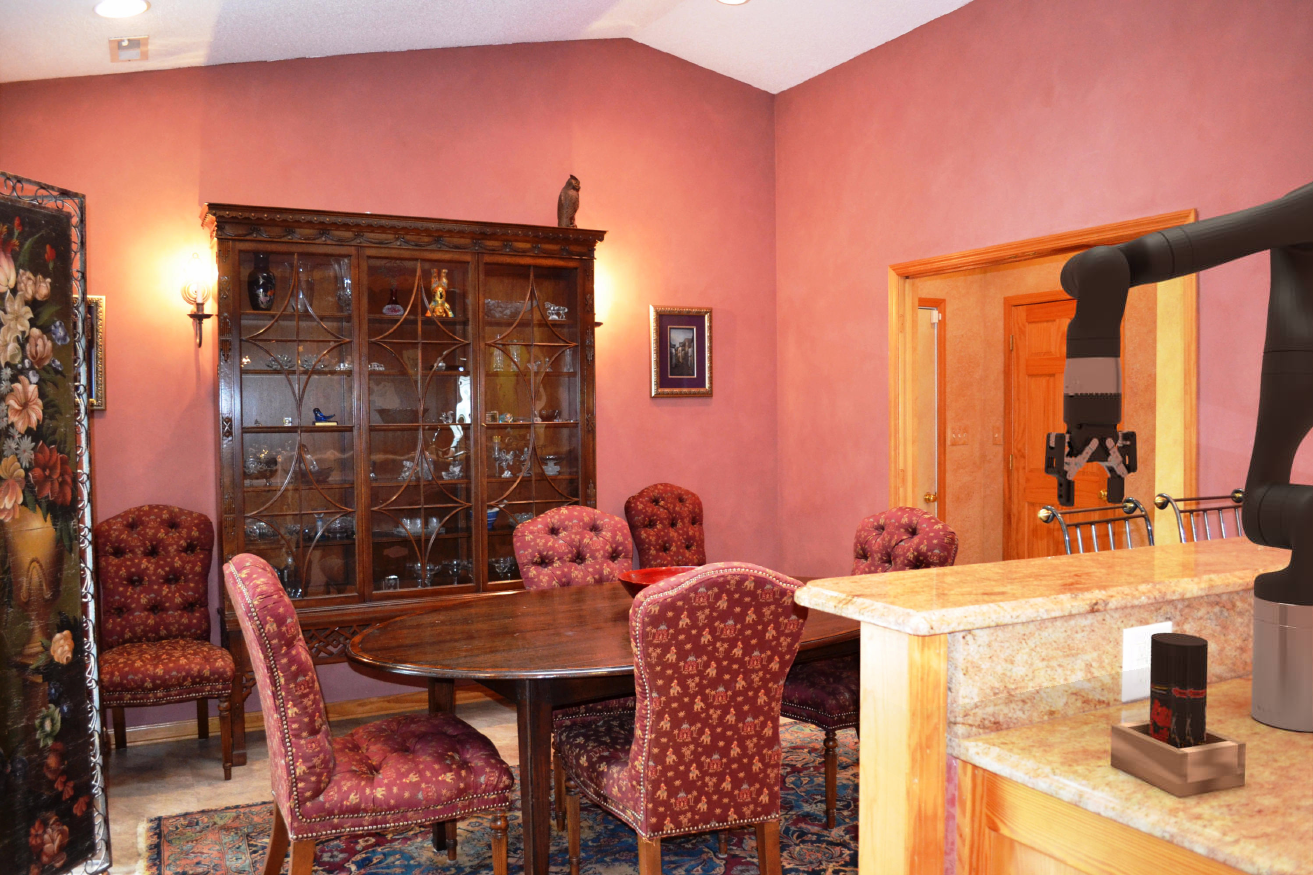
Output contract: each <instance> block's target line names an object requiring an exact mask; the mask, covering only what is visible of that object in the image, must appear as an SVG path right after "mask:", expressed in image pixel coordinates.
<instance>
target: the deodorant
mask: <svg viewBox="0 0 1313 875" xmlns="http://www.w3.org/2000/svg"><path fill="white" fill-rule="evenodd" d="M1208 644H1209V642H1208V640H1207V639H1205V638H1202V637H1200V636H1196V635H1193V634H1186V633H1178V632H1158V633H1154V634H1151V635H1150V671H1149V673H1150V675H1149V676H1150V679H1149V680H1150V684H1149V686H1150V687H1149V690H1150V691H1149V719H1150V729H1149V737H1152V738H1154V739H1156V740H1159V741H1161V742H1164V743H1166V744H1168V745H1171V746H1173V747H1176V748H1178V749H1182V748H1188V747H1194V746H1200V745H1206V728H1207V707H1208V706H1207V703H1208V702H1207V698H1208V695H1207V694H1208V656H1209V655H1208V651H1209V650H1208V648H1209V645H1208Z"/></svg>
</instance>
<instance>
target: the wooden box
mask: <svg viewBox="0 0 1313 875" xmlns="http://www.w3.org/2000/svg"><path fill="white" fill-rule="evenodd" d="M1110 728H1111V729H1110V734H1111V735H1110V766H1112V767H1114V768H1116V769H1119V770H1121V771H1123V772H1125V773H1127V774H1129V775H1131V776H1133V777H1135V778H1137V779H1140V780H1142V781H1144V782H1146V783H1148V784H1150V785H1153V786H1154V787H1156V788H1158V789H1160V790H1163V791H1165V792H1167V793H1169V794H1171V795H1173V796H1175V797H1178V798H1181V797H1188V796H1194V795H1198V794H1205V793H1209V792H1210V793H1211V792H1215V791H1221V790H1227V789H1230V788H1231V789H1232V788H1237V787H1242V786H1245V785H1246V780H1245V779H1246V748H1247V747H1246V742H1244V741H1241V740H1238V739H1237V738H1234V737H1231V736H1229V735H1225V734H1222V733H1221V732H1218V731H1215V730H1212V729H1210V728H1207V727H1206V745H1200V746H1194V747H1188V748H1182V749H1178V748H1176V747H1173V746H1171V745H1168V744H1166V743H1164V742H1161V741H1159V740H1156V739H1154V738H1152V737H1149V729H1150V718H1149V719H1143V720H1135V721H1131V722H1124V723H1123V722H1122V723H1118V724H1117V723H1116V724H1111V725H1110Z"/></svg>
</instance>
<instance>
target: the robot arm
mask: <svg viewBox="0 0 1313 875" xmlns="http://www.w3.org/2000/svg"><path fill="white" fill-rule="evenodd" d="M1268 250H1269V260H1270V261H1269V263H1270V264H1269V268H1270V286H1269V297H1268V306H1267V315H1266V328H1265V339H1264V344H1263V345H1264V346H1263V352H1262V361H1261V372H1260V384H1259V386H1260V388H1259V400H1258V401H1259V402H1258V410H1257V411H1258V412H1257V417H1256V418H1257V420H1256V426H1255V427H1256V428H1255V434H1254V435H1255V436H1254V440H1253V447H1252V452H1251V456H1250V461H1249V466H1248V471H1247V476H1246V479H1245V480H1246V481H1245V485H1244V490H1243V494H1242V501H1241V510H1240V514H1241V515H1240V518H1241V525H1242V527H1241V528H1242V530H1243V533H1244V534H1245V537H1246V538H1247V539H1248V540H1249V541H1250V542H1251V543H1252V544H1255V545H1258V546H1261V547H1262V546H1263V547H1268V548H1276V549H1281V550H1288V551H1291V554H1290V559H1289V560H1290V561H1289V563H1288V565H1287V566H1286V567H1284V568H1282V569H1279V570H1275V571H1269V572H1268V571H1267V572H1263V573H1260V574H1258V575H1257V576H1255V577H1254V580H1253V604H1252V606H1253V607H1252V608H1253V611H1252V612H1253V615H1252V620H1253V621H1252V655H1251V656H1252V658H1251V660H1252V661H1251V662H1252V663H1251V665H1252V666H1251V667H1252V668H1251V702H1250V703H1251V704H1250V715H1251V717H1252V718H1253V719H1254V720H1256V721H1258V722H1260V723H1263V724H1265V725H1269V726H1272V727H1275V728H1279V729H1284V730H1290V731H1298V732H1299V731H1300V732H1313V484H1303V483H1301V484H1300V483H1291V482H1290V480H1291V474H1292V469H1293V464H1294V459H1295V458H1296V454H1297V452H1298V450H1299V447H1300V445H1301V444H1302V442H1303V440H1305V438H1306V436H1307V435H1308V434H1309V433H1310V431H1311V430H1312V428H1313V180H1312V181H1310V182H1308V183H1306V184H1304V185H1302V186H1299V187H1298V188H1295V189H1293V190H1291V191H1289V192H1288V193H1286V194H1285V195H1283V196H1282V197H1279V198H1276V199H1274V200H1271V201H1268V202H1264V203H1262V204H1257V205H1256V206H1253V207H1249V208H1245V209H1242V210H1238V211H1233V212H1229V213H1226V214H1222V215H1217V216H1213V217H1210V218H1205V219H1201V220H1196V221H1192V222H1189V223H1185V224H1180V225H1177V226H1172V227H1169V228H1164V229H1161V230H1157V231H1155V232H1150V233H1147V234H1144V235H1141V236H1139V237H1136V238H1135V239H1132V240H1130V241H1126V242H1121V243H1118V244H1114V245H1105V244H1104V245H1103V244H1102V245H1098V246H1094V247H1091V248H1088V249H1086V250H1084V251H1081V252H1079V253H1076V254H1074V255H1072V257H1070V258H1068V260H1067V261H1066V262H1065V263H1064V265H1063V266H1062V269H1061V271H1060V275H1059V281H1060V286H1061V287H1062V290H1063V291H1064V293H1066V294H1067V295H1068V296H1069V297H1071V298H1072V299H1074V300H1076V305H1075V312H1074V316H1073V318H1071V320H1070V321H1069V322H1068V324H1067V327H1066V335H1065V338H1066V339H1065V340H1066V341H1065V345H1066V346H1065V365H1064V370H1063V371H1064V372H1063V400H1062V401H1063V405H1062V406H1063V408H1062V410H1063V411H1062V412H1063V415H1062V422H1063V423H1064V424H1065V425H1066V429H1065V433H1064V432H1048V433H1047V434H1046V438H1045V452H1044V453H1045V456H1044V470H1043V471H1044V474H1046V475H1047V476H1048V475H1049V476H1051V477H1054V478H1056V480H1057V481H1056V488H1057V491H1056V498H1057V501H1058V504H1059V505H1060V506H1061V507H1068V508H1071V507H1072V508H1073V507H1074V506H1075V493H1076V492H1075V491H1076V490H1075V486H1076V485H1075V484H1076V481H1075V480H1073V479H1074V478H1075V476H1076V474H1077V473H1078V471H1079V470H1080V469H1082V468H1083V467H1084V466H1085V464H1086V463H1087V464H1088V463H1091V464H1092V463H1098V464H1099V465H1100V466H1102V467H1103V469H1104V470H1105V471H1106V474H1107V475H1108V477H1106V502H1107V503H1108V504H1114V505H1121V504H1122V503H1123V500H1124V497H1125V484H1126V483H1125V481H1126V480H1125V479H1126V477H1127V476H1128V475H1130V474H1131V473H1133V474H1134V473H1136V472H1137V471H1138V447H1137V444H1138V443H1137V433H1136V431H1133V430H1118V425H1119V424H1121V422H1122V410H1123V409H1122V407H1123V406H1122V404H1123V402H1122V400H1123V399H1122V398H1123V370H1122V364H1121V344H1122V343H1121V341H1122V340H1121V337H1122V336H1121V328H1122V326H1121V325H1122V322H1123V319H1124V318H1123V317H1124V315H1125V310H1126V306H1127V301H1128V296H1129V290H1130V289H1132V288H1135V287H1140V286H1144V285H1150V284H1156V283H1163V282H1166V281H1171V280H1174V279H1179V278H1182V277H1185V276H1189V275H1193V274H1196V273H1200V272H1203V271H1206V270H1207V271H1208V270H1209V269H1213V268H1216V267H1218V266H1223V265H1225V264H1228V263H1230V262H1233V261H1236V260H1239V259H1241V258H1245V257H1249V256H1250V255H1251V256H1252V255H1254V254H1257V253H1261V252H1264V251H1268ZM1066 447H1067V448H1066Z"/></svg>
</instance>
